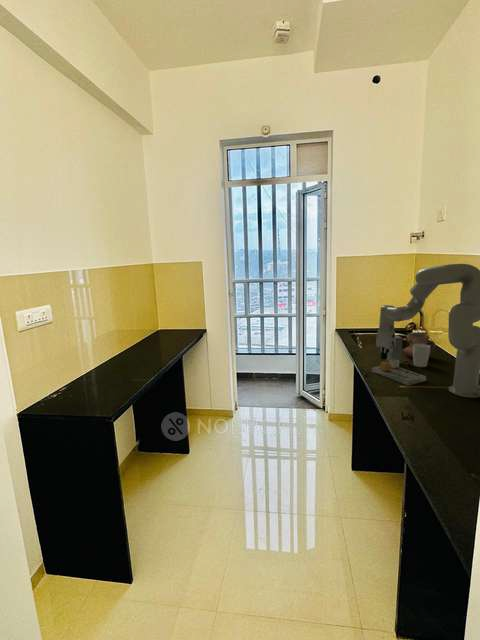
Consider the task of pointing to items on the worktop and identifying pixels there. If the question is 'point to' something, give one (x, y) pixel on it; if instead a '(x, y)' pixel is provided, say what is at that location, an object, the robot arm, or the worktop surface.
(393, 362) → the fader white
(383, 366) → the fader orange
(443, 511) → the worktop surface
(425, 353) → the cup
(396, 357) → the skincare box
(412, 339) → the ceramic jug
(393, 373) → the console
